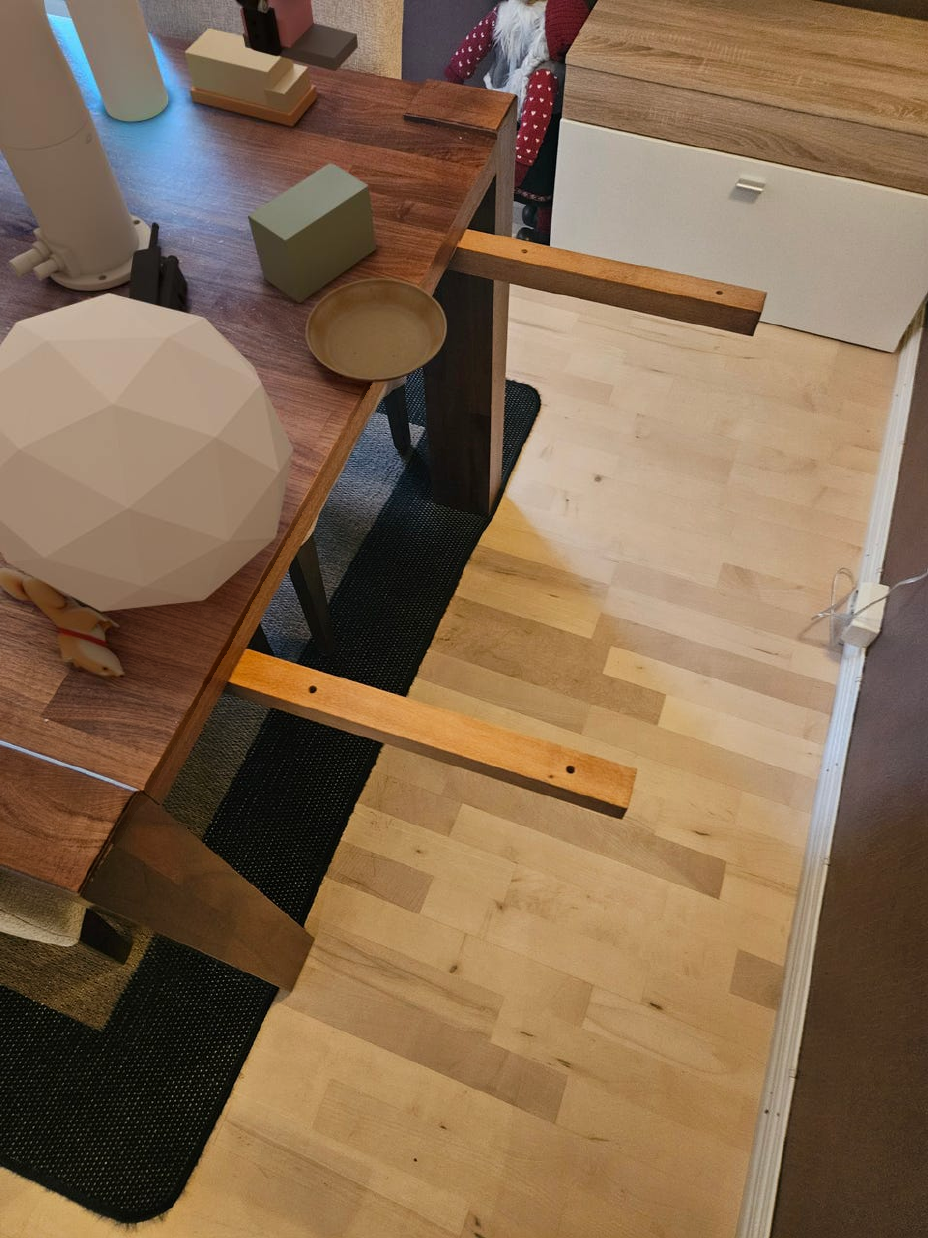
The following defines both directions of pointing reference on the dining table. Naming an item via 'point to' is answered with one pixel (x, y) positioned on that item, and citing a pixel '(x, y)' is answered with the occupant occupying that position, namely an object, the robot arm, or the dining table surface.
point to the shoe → (247, 79)
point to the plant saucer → (376, 329)
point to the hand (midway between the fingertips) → (280, 35)
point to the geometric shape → (134, 454)
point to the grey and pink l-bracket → (308, 36)
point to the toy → (68, 623)
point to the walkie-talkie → (157, 277)
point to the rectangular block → (314, 231)
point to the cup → (120, 57)
